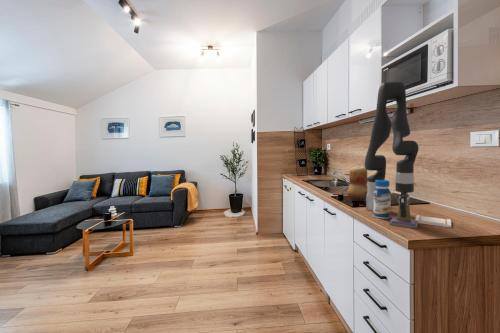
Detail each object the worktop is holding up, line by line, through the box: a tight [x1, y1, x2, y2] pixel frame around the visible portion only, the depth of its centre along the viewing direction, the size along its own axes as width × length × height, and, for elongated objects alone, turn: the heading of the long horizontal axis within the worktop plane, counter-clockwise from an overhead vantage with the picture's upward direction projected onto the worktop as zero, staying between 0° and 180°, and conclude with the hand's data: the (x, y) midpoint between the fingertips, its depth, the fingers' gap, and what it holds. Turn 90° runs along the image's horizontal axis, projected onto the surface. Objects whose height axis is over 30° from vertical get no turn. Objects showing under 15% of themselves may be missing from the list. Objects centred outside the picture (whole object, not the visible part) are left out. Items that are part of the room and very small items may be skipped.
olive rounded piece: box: [396, 198, 412, 222], centre depth 117 cm, size 6×6×11 cm
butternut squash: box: [346, 165, 368, 203], centre depth 170 cm, size 14×13×25 cm
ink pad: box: [388, 216, 419, 230], centre depth 118 cm, size 11×10×2 cm
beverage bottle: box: [372, 179, 392, 220], centre depth 130 cm, size 8×8×20 cm
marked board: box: [414, 215, 452, 229], centre depth 120 cm, size 14×12×1 cm
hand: (403, 216), depth 117 cm, fingers closed on olive rounded piece, 4 cm apart
